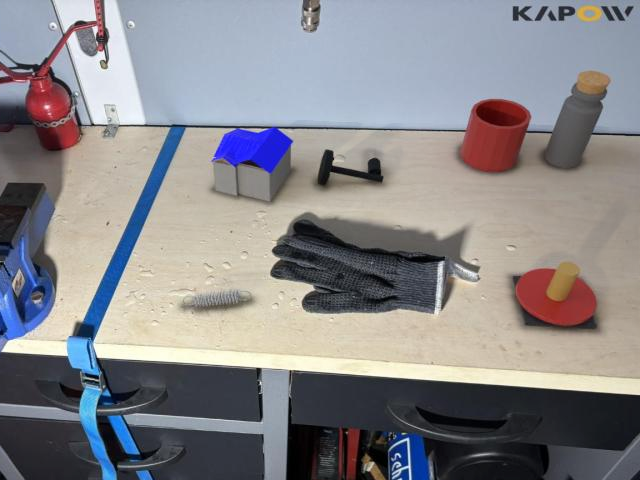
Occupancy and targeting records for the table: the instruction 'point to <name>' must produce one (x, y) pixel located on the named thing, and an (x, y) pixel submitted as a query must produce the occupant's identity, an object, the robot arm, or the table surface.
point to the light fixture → (327, 167)
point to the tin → (495, 134)
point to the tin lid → (556, 295)
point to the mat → (533, 320)
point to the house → (252, 162)
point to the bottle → (577, 120)
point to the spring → (217, 298)
